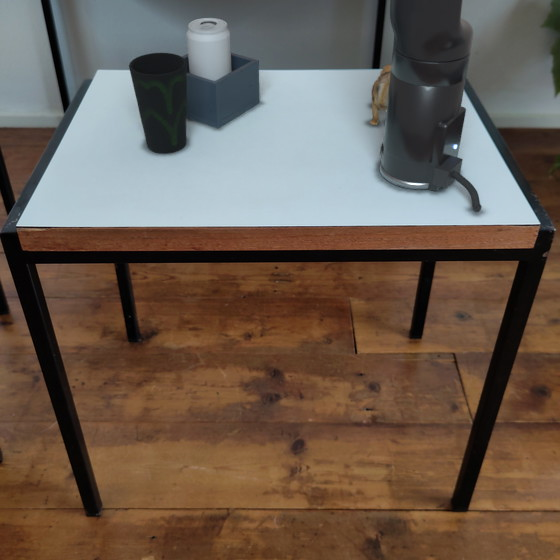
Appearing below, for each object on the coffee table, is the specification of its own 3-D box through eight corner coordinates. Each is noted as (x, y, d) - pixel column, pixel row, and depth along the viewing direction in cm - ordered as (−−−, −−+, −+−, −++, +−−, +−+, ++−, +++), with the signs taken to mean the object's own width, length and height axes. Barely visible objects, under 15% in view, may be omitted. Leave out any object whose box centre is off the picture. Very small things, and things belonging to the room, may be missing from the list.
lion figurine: (406, 137, 106) (413, 78, 100) (369, 136, 106) (374, 77, 101) (399, 94, 117) (406, 39, 112) (366, 93, 118) (371, 38, 112)
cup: (129, 151, 102) (117, 70, 95) (155, 128, 108) (145, 49, 100) (178, 161, 100) (170, 78, 93) (202, 136, 106) (196, 57, 98)
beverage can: (235, 93, 115) (232, 17, 108) (229, 111, 110) (225, 32, 103) (195, 91, 116) (190, 15, 108) (188, 109, 111) (181, 31, 103)
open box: (259, 103, 115) (259, 60, 110) (217, 128, 108) (215, 84, 104) (207, 86, 119) (204, 45, 115) (164, 110, 113) (159, 67, 108)
